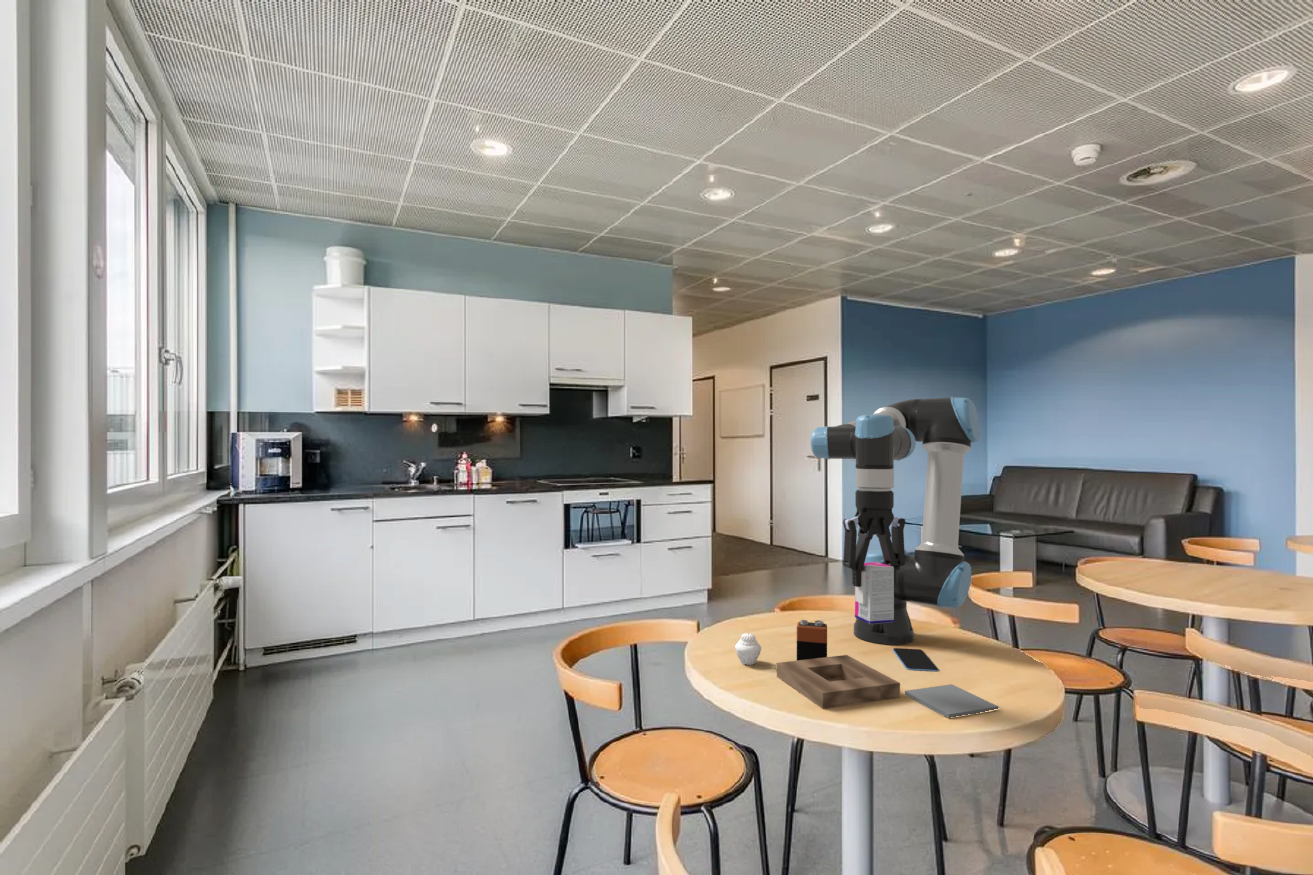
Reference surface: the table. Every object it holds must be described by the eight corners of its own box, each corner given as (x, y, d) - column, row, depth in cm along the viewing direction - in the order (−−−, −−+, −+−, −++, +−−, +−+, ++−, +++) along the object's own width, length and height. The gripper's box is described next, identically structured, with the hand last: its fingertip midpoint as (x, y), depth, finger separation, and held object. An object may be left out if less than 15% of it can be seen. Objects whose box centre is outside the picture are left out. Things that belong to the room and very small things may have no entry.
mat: (951, 687, 135) (951, 684, 135) (998, 710, 123) (998, 706, 123) (904, 694, 131) (904, 690, 131) (948, 718, 119) (948, 714, 119)
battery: (826, 668, 146) (826, 624, 146) (796, 665, 148) (796, 622, 148) (827, 662, 150) (827, 619, 150) (797, 659, 152) (797, 617, 152)
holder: (846, 668, 146) (846, 654, 146) (899, 697, 129) (899, 682, 129) (776, 676, 141) (776, 662, 141) (822, 708, 124) (822, 693, 124)
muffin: (730, 660, 151) (730, 630, 151) (753, 657, 153) (753, 627, 154) (742, 668, 146) (742, 637, 146) (766, 665, 148) (766, 635, 148)
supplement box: (895, 622, 130) (894, 566, 130) (869, 624, 129) (869, 567, 129) (878, 614, 136) (878, 561, 136) (853, 617, 134) (853, 562, 134)
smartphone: (906, 668, 145) (891, 647, 160) (906, 672, 145) (891, 650, 160) (940, 669, 144) (922, 648, 159) (940, 673, 144) (922, 652, 159)
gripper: (901, 487, 139) (901, 594, 139) (824, 488, 134) (824, 599, 133) (924, 489, 132) (924, 602, 131) (844, 491, 126) (844, 608, 126)
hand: (874, 600), depth 132 cm, fingers closed on supplement box, 6 cm apart
